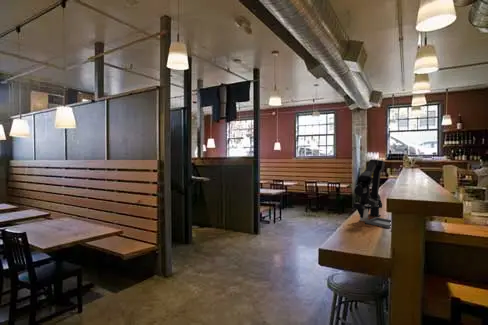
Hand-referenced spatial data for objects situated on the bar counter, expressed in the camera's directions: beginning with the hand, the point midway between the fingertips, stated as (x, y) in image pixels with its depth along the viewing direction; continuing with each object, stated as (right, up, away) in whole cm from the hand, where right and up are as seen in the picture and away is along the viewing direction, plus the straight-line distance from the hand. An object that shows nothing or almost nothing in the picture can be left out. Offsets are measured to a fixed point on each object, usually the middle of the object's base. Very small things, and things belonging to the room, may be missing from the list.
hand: (363, 217), depth 207 cm
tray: (+8, -3, -9) cm, 13 cm away
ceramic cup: (0, -2, 0) cm, 2 cm away
